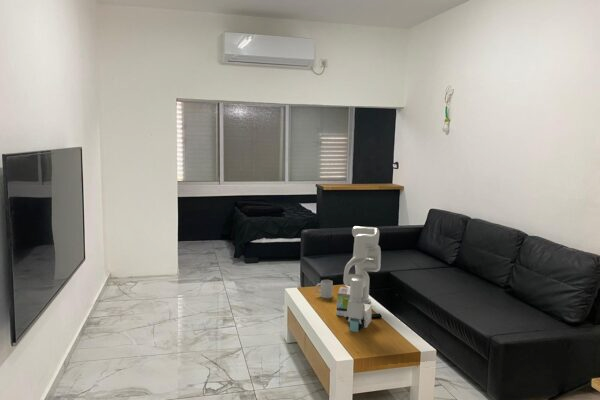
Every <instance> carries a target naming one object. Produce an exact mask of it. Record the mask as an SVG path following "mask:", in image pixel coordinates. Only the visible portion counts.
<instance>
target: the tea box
mask: <svg viewBox="0 0 600 400" xmlns="http://www.w3.org/2000/svg"><path fill="white" fill-rule="evenodd" d="M336 297H337V298H336V300H337V301H336V312H335V313H336V314H335V315H336V316H341V317H344V313H345V312H346V311H347V306H348V301H349V300H350V286H340V287H339V290H338V291H337V296H336Z"/></svg>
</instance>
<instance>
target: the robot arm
mask: <svg viewBox="0 0 600 400" xmlns="http://www.w3.org/2000/svg"><path fill="white" fill-rule="evenodd" d="M351 234H352V236H353V237H354V242H353V252H352V258H351V259H350V260H349V261H347V263H346V264H345V267H344V271H343V279H342V281H343V284H344V285H345V287H350V300H349V301H348V306H347V311H346V312H345V313H344V316H343V317H344V318H345V319H346V320H347V322H348V327H349V328H348V329H349V330H350V320H351V319H352V318H356V319H359V331H358V332H360V331H361V329H362V328H363V326H362V323H363V324H364V321H366V320H367V319H368V318H367V316H366V315H365V305H364V304H370V303H371V302H372V301H371V299H370V298H369V297H370V276H369V273H368V272H375V273H376V272H379V271H380V269H381V266H382V265H381V260H382V255H381V254H382V251H381V246H380V245H379V241H380V230H379V228H378V227H373V226H359V225H354V226H353V227H352V228H351ZM353 266H354V267H355V268H354V269H355V273H350V269H351V268H352V267H353ZM363 317H364V318H365V319H363ZM362 319H363V320H362Z"/></svg>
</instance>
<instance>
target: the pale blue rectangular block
mask: <svg viewBox="0 0 600 400" xmlns="http://www.w3.org/2000/svg"><path fill="white" fill-rule="evenodd" d="M363 319H364V317H363ZM363 319H362V320H363ZM362 327H364V322H363V323H362ZM349 331H350V332H353V333H359V332H360V331H359V319H356V318H352V319H351V320H350V329H349Z"/></svg>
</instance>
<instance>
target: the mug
mask: <svg viewBox="0 0 600 400" xmlns="http://www.w3.org/2000/svg"><path fill="white" fill-rule="evenodd" d="M333 283H334V282H333V280H330V279H322V280H321V281H320V283H319V282H318V283H317V284H316V286H315V291H316V293H318V294H320V297H321V298H322V299H332V298H333V290H334V289H333V288H334V285H333ZM319 286H320V290H318V288H319Z"/></svg>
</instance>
